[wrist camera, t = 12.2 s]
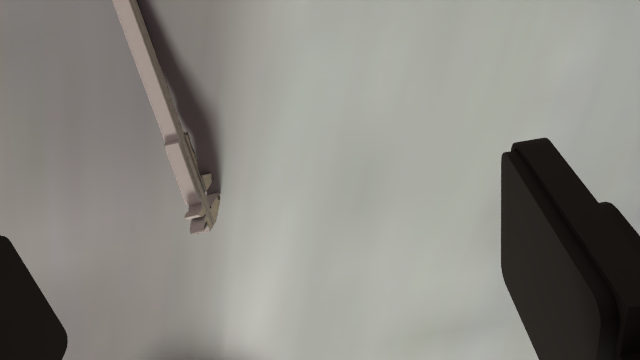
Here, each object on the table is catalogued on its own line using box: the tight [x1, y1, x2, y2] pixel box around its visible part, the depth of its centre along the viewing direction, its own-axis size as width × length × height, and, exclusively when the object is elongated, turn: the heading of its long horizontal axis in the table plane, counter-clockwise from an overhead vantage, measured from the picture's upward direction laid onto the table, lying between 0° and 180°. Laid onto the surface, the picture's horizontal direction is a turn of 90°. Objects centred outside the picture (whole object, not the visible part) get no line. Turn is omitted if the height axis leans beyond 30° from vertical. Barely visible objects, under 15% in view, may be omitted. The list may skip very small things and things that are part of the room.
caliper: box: [112, 0, 220, 234], centre depth 36 cm, size 20×1×6 cm, turn 14°
